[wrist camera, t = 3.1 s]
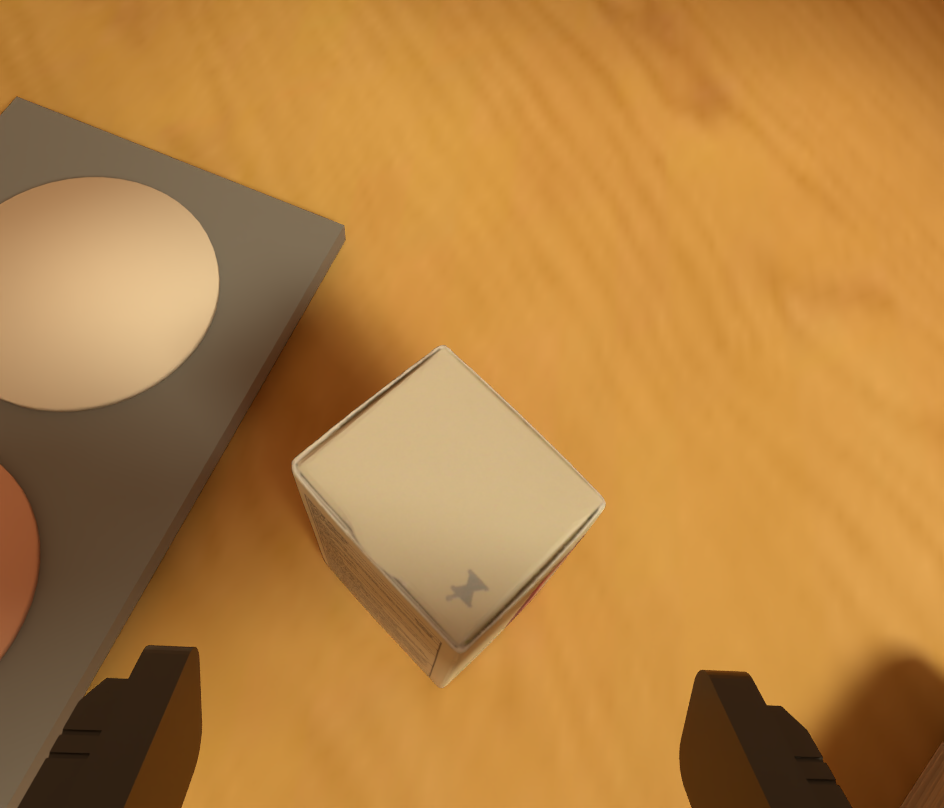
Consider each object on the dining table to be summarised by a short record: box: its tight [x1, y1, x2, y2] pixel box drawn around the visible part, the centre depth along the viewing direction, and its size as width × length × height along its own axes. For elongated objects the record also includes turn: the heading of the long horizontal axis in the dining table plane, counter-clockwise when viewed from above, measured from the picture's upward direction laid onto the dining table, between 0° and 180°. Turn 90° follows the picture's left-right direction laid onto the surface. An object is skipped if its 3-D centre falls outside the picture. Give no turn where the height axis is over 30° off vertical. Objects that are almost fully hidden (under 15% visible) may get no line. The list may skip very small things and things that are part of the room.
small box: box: [292, 345, 606, 688], centre depth 20 cm, size 5×4×8 cm
